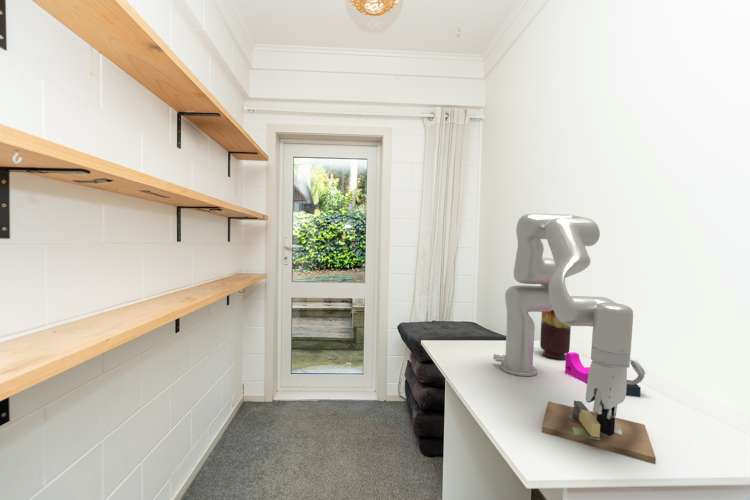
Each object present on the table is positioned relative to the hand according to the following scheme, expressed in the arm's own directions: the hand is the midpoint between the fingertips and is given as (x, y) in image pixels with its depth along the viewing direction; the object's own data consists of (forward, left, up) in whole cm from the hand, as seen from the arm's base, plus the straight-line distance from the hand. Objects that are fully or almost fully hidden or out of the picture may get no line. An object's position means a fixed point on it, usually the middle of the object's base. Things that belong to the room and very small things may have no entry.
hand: (604, 432), depth 82 cm
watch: (+8, +39, -3) cm, 40 cm away
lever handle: (-5, +5, -1) cm, 7 cm away
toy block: (-3, +44, -3) cm, 44 cm away
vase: (-15, +66, -3) cm, 68 cm away
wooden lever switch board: (-2, +4, -3) cm, 6 cm away
